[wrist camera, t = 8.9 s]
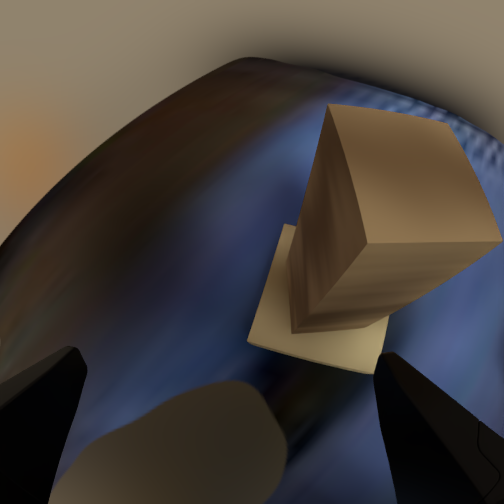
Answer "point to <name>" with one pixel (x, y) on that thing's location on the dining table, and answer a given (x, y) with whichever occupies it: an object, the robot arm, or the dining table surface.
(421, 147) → the column brick
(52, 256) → the dining table surface
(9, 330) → the dining table surface
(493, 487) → the robot arm
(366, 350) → the base block
